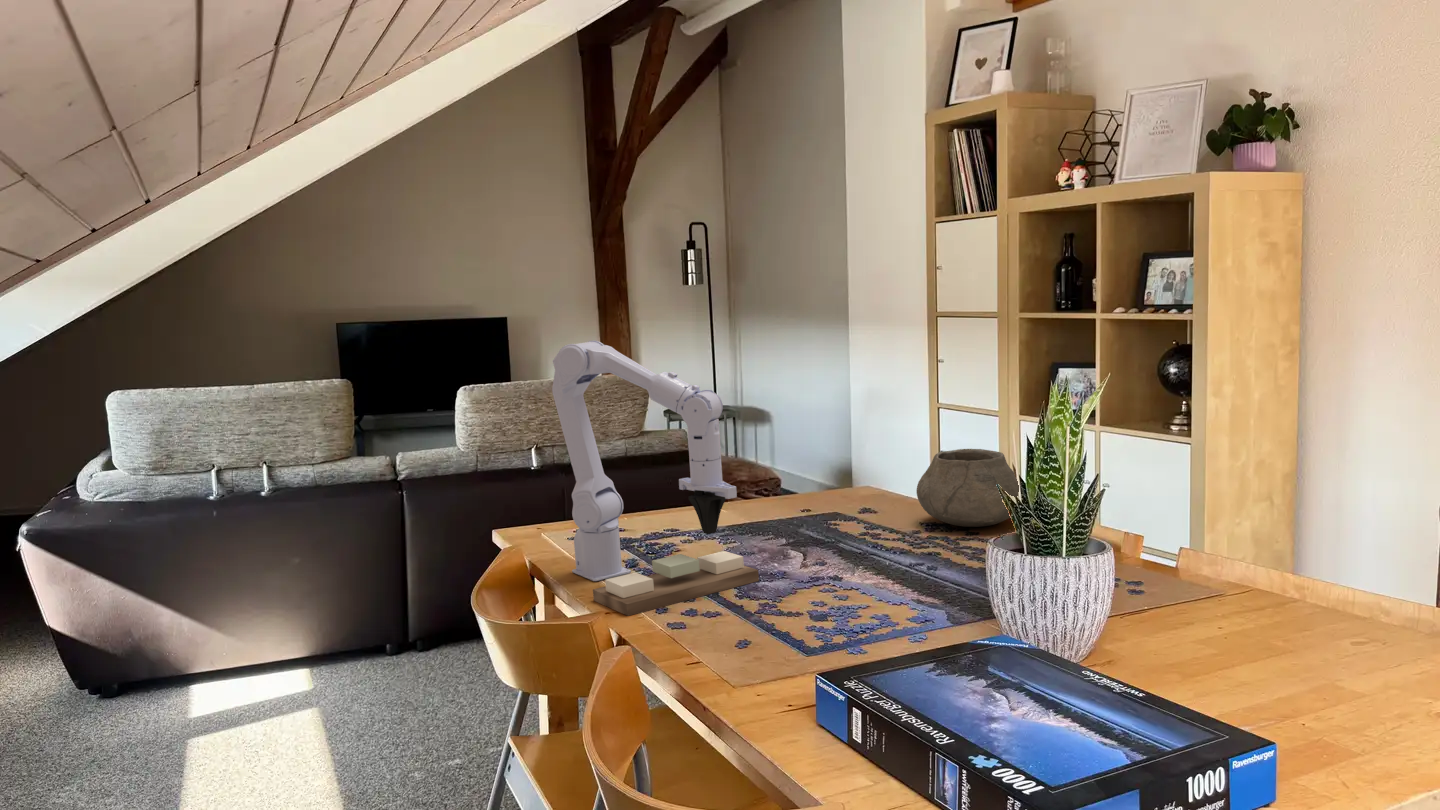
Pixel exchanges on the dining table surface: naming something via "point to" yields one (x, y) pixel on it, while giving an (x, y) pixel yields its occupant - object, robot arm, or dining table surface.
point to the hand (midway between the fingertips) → (709, 532)
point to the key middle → (675, 565)
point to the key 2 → (720, 562)
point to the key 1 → (629, 585)
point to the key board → (676, 589)
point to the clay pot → (967, 487)
